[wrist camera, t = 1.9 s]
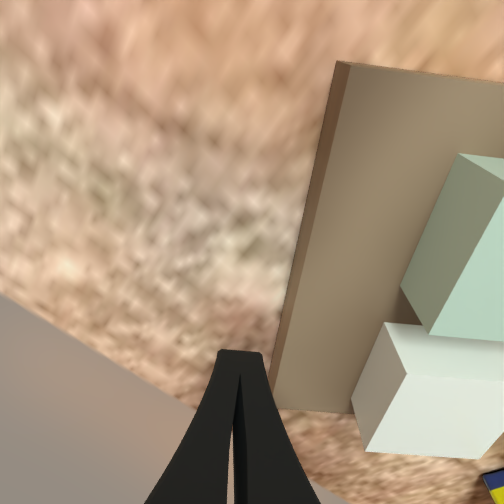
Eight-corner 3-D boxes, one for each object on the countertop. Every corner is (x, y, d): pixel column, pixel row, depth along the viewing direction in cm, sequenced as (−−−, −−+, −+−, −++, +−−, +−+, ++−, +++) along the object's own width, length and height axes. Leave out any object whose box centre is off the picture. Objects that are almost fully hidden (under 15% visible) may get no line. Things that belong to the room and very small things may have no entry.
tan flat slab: (710, 110, 9) (784, 123, 8) (489, 393, 15) (510, 426, 14) (336, 60, 9) (351, 65, 7) (268, 375, 15) (269, 407, 14)
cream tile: (502, 332, 11) (545, 385, 10) (450, 405, 14) (479, 459, 12) (383, 322, 11) (406, 374, 9) (350, 398, 13) (365, 451, 12)
